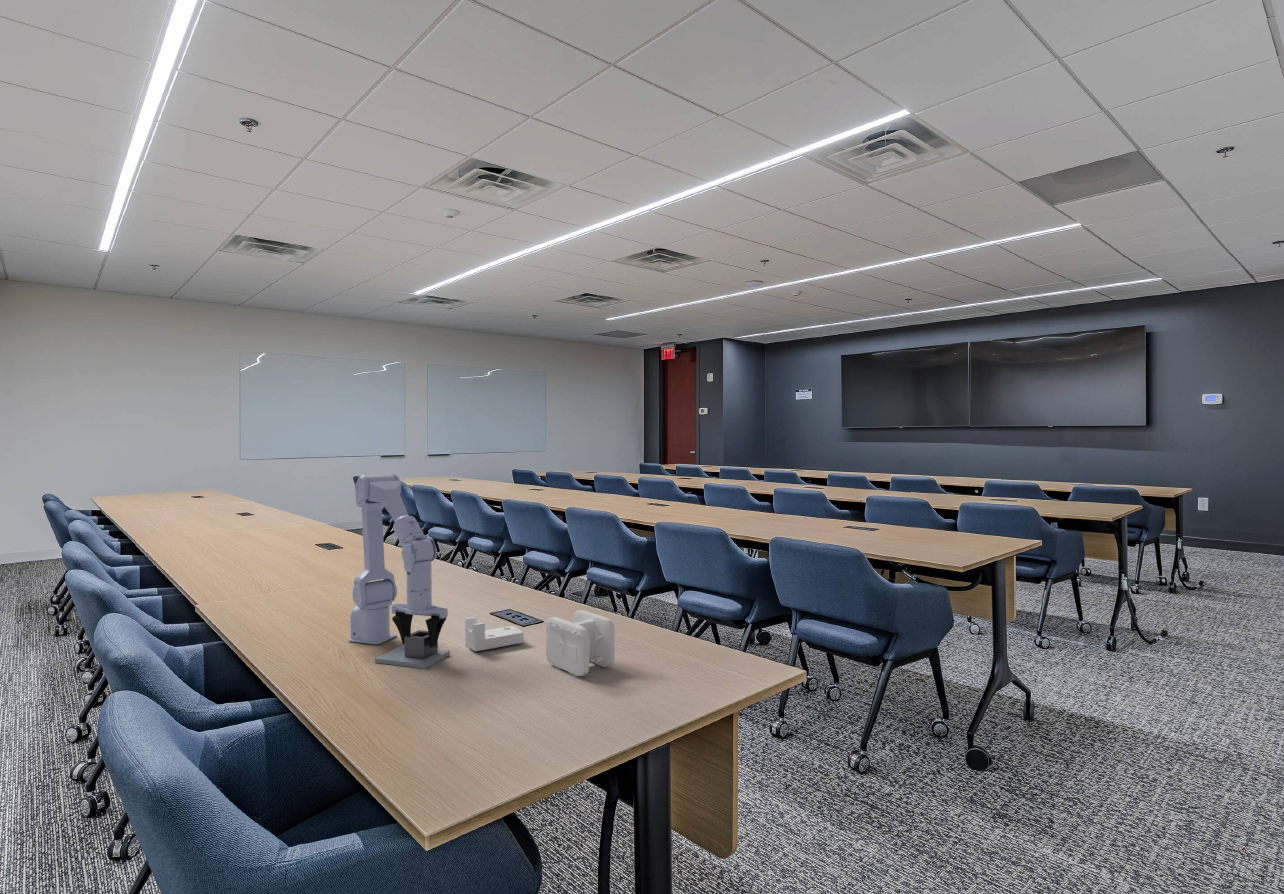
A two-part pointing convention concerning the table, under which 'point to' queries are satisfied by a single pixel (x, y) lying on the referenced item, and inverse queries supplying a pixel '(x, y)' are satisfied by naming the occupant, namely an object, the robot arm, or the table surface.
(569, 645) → the cable organizer
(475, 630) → the bracket
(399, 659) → the plate with peg
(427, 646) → the dark grey hollow block
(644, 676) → the table surface
